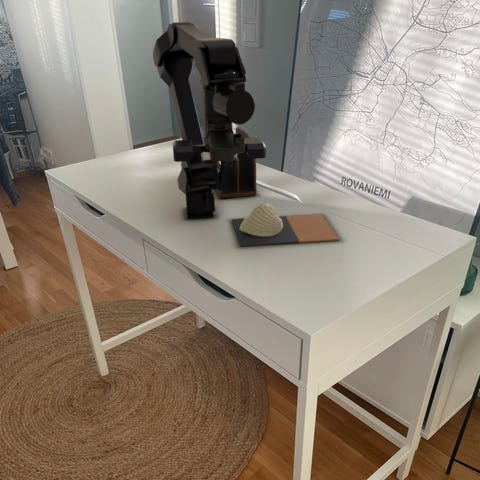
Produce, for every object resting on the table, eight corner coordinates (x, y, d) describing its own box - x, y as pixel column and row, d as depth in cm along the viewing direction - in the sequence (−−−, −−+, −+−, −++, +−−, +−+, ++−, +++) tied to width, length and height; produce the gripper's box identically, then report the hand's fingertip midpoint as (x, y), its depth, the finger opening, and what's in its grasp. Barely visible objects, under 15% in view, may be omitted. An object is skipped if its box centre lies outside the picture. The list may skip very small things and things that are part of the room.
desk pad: (240, 246, 105) (240, 245, 105) (232, 220, 116) (232, 219, 116) (338, 240, 108) (339, 238, 107) (321, 215, 119) (321, 214, 119)
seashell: (293, 225, 108) (268, 215, 102) (269, 250, 112) (244, 241, 107) (281, 200, 112) (256, 189, 106) (257, 225, 116) (233, 216, 111)
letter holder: (238, 172, 145) (238, 122, 137) (256, 195, 130) (257, 141, 122) (206, 175, 143) (204, 125, 135) (220, 199, 128) (218, 144, 120)
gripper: (171, 124, 88) (177, 206, 97) (272, 121, 90) (269, 201, 99) (170, 110, 97) (175, 186, 106) (262, 108, 99) (260, 183, 108)
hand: (219, 189), depth 105 cm, fingers closed
